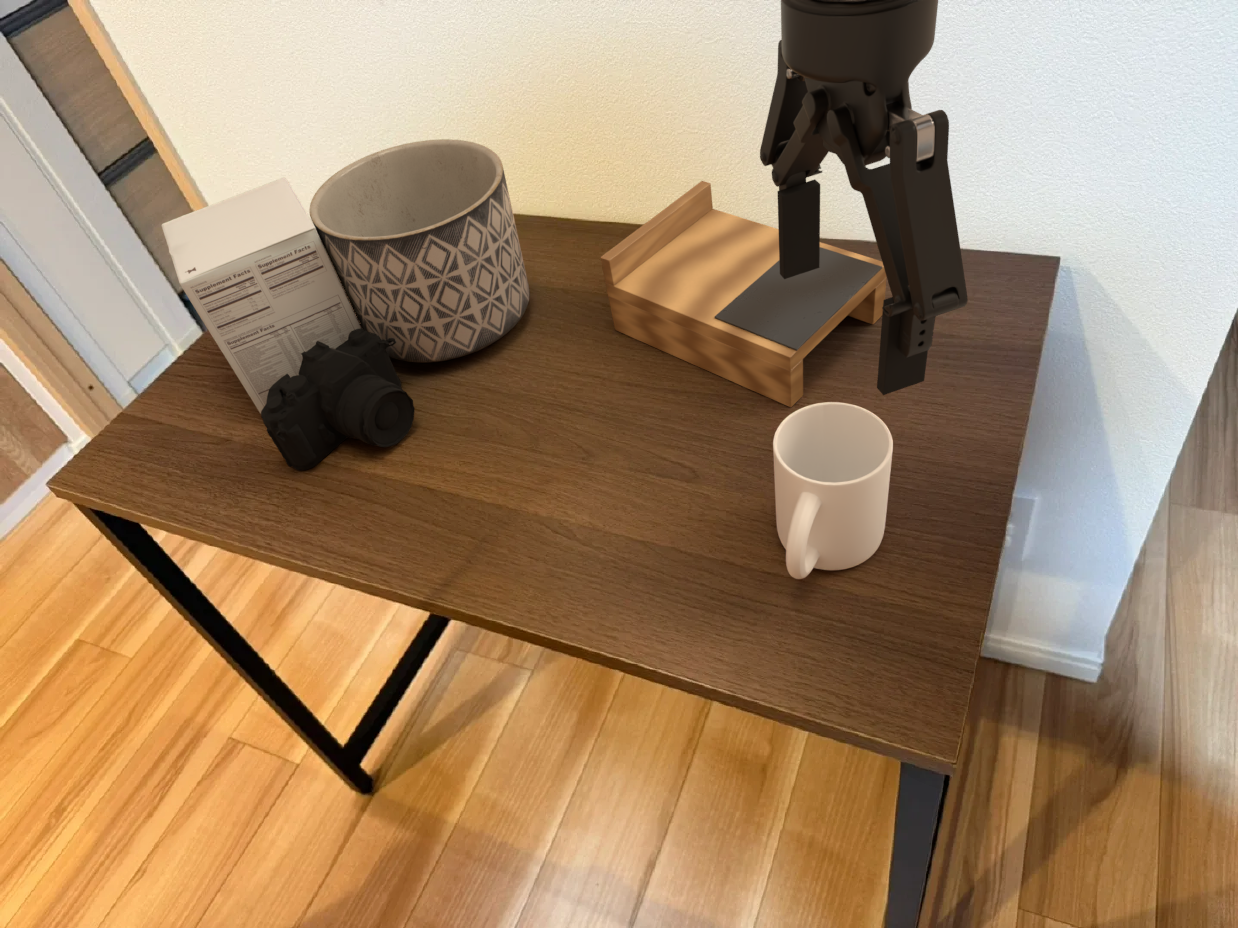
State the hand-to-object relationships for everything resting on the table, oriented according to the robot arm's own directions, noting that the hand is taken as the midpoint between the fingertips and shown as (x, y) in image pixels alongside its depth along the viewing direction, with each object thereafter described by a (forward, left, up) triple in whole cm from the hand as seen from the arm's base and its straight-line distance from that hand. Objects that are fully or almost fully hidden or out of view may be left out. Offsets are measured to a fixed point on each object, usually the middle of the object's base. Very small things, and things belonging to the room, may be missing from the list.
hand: (845, 323), depth 57 cm
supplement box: (+58, +14, -19) cm, 62 cm away
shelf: (+21, -16, -19) cm, 32 cm away
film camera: (+43, +17, -19) cm, 50 cm away
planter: (+49, +1, -19) cm, 52 cm away
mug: (-1, +4, -19) cm, 20 cm away
